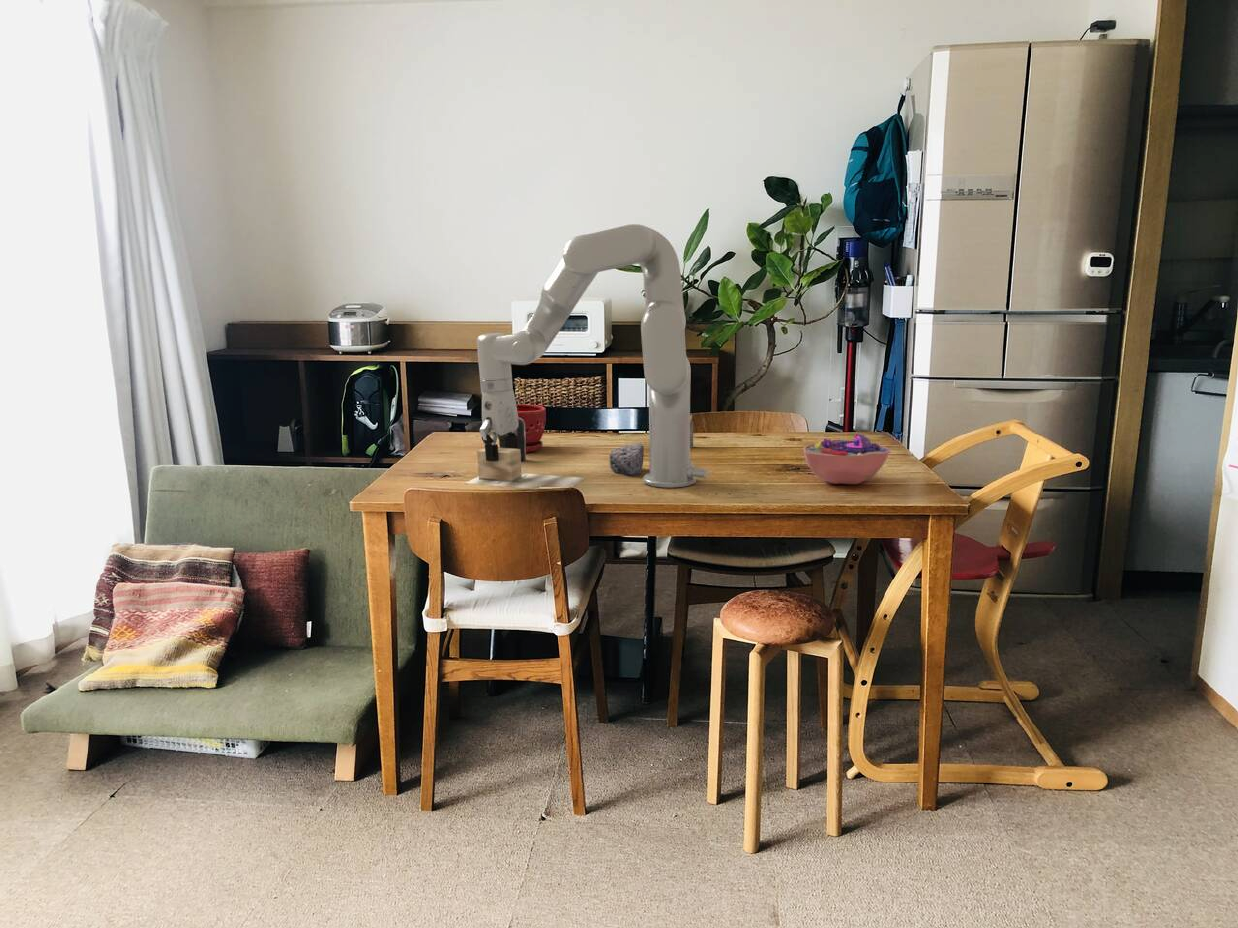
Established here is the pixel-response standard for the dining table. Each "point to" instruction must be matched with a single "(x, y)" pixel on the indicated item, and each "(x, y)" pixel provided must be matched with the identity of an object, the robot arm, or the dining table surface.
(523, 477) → the board
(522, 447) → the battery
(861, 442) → the cell model
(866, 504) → the dining table surface
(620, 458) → the pumice stone
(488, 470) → the block
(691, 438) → the ruin model on sheet
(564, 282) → the robot arm
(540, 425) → the plant pot
